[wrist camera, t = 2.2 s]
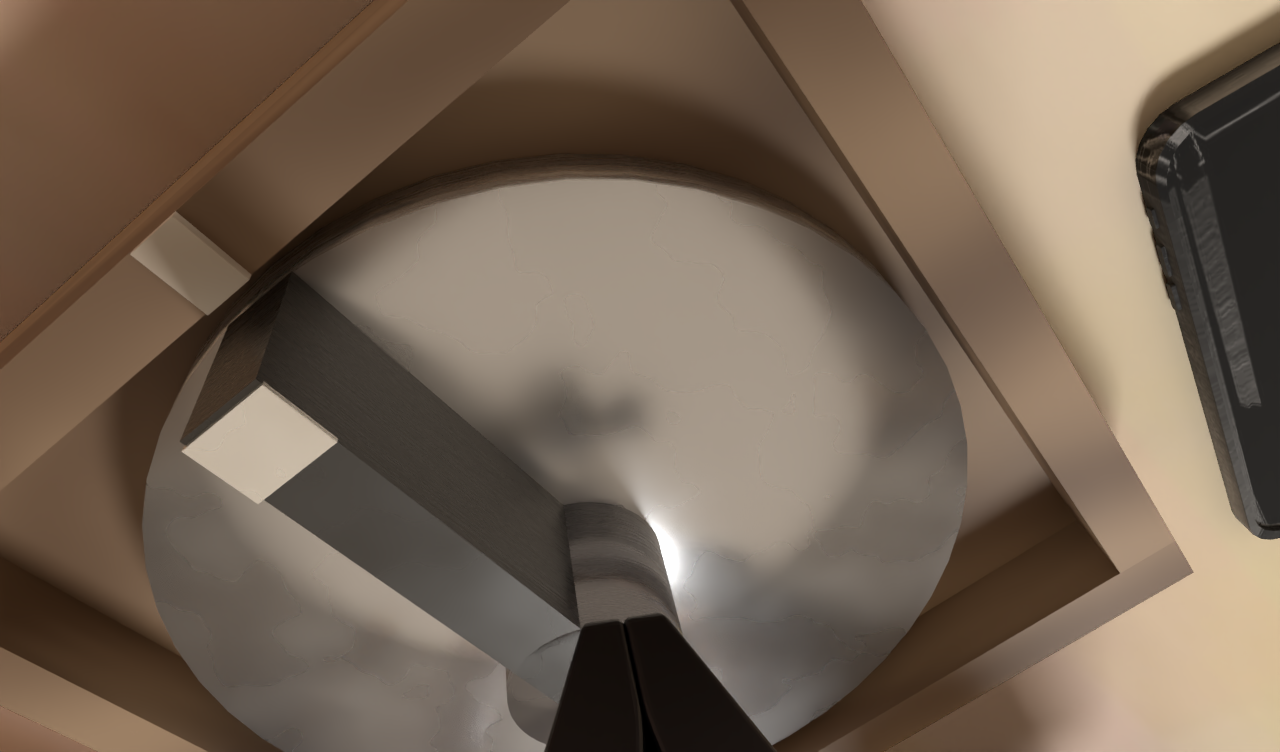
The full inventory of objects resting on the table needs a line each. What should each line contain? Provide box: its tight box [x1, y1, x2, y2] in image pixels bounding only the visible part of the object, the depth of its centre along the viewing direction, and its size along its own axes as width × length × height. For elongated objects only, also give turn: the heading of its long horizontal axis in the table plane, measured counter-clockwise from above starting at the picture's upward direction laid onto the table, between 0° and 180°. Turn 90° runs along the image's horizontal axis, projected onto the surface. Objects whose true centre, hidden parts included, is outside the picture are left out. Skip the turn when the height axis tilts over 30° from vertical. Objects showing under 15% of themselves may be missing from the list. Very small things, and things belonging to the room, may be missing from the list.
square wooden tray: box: [0, 0, 1193, 752], centre depth 22 cm, size 22×22×4 cm
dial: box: [142, 154, 967, 752], centre depth 20 cm, size 18×18×5 cm
